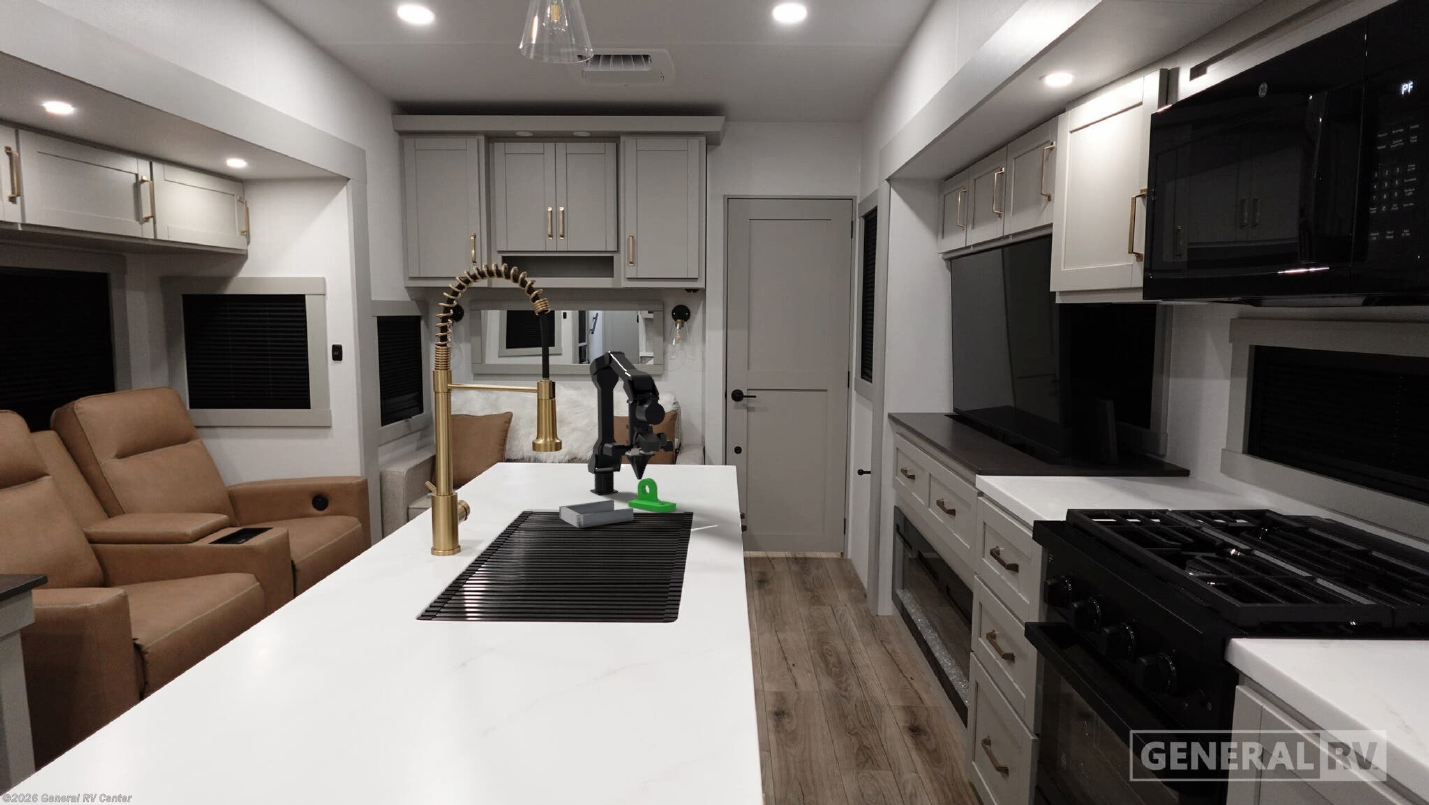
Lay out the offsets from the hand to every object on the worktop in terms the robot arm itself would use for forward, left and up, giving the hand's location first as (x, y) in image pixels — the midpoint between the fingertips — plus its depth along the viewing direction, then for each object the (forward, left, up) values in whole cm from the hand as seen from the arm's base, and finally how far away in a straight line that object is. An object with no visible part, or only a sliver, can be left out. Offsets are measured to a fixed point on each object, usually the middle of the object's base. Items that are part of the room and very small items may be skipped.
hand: (639, 479), depth 199 cm
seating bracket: (0, -12, -9) cm, 15 cm away
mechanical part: (-3, +6, -10) cm, 11 cm away
